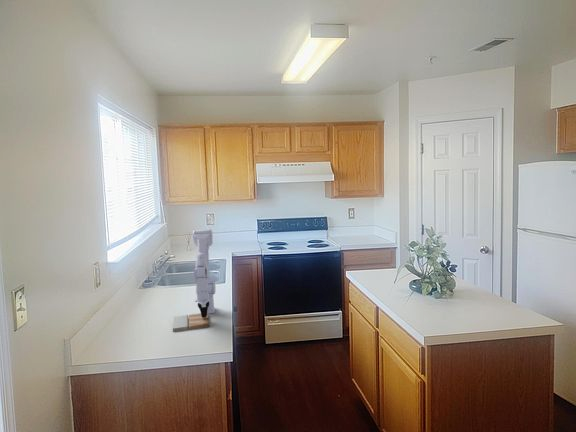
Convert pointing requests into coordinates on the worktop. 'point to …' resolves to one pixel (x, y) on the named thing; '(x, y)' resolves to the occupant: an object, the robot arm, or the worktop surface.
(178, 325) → the floor board
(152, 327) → the worktop surface
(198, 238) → the robot arm
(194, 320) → the tan flat block
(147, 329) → the worktop surface
